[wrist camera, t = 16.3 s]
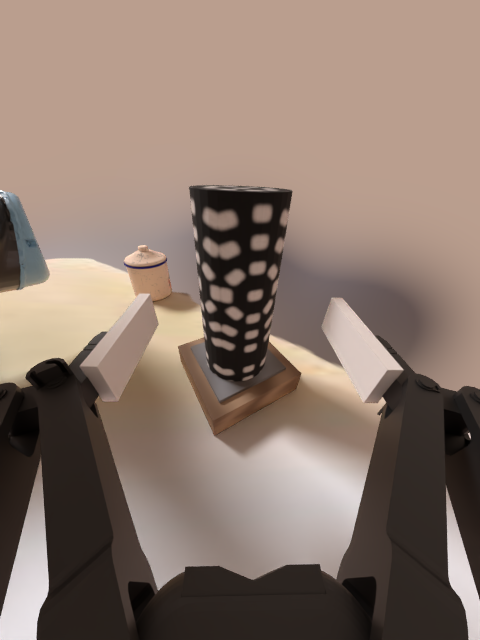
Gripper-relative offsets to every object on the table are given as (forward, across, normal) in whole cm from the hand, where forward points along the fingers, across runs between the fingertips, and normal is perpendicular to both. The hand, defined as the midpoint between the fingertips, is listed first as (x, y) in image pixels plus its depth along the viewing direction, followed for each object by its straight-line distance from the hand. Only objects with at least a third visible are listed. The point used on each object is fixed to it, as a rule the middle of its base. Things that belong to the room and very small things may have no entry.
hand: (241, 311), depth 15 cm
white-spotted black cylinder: (+7, 0, -13) cm, 15 cm away
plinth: (+7, 0, -17) cm, 18 cm away
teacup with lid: (+33, -22, -17) cm, 43 cm away
